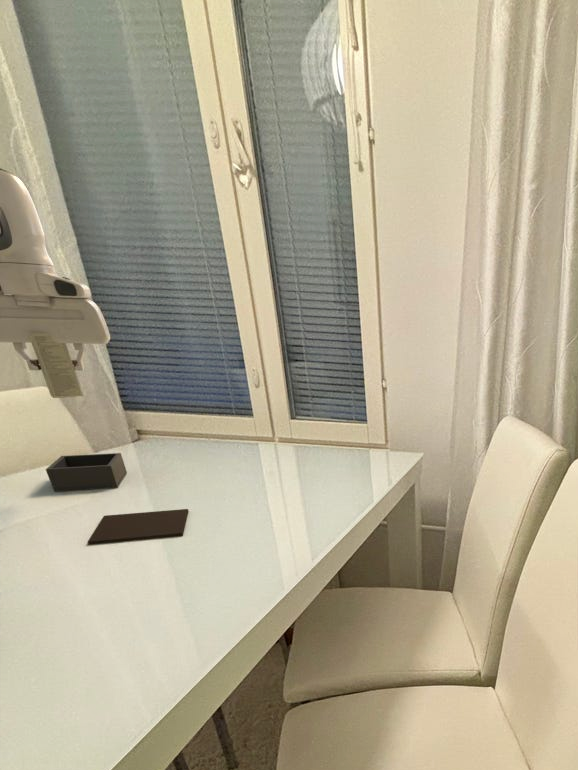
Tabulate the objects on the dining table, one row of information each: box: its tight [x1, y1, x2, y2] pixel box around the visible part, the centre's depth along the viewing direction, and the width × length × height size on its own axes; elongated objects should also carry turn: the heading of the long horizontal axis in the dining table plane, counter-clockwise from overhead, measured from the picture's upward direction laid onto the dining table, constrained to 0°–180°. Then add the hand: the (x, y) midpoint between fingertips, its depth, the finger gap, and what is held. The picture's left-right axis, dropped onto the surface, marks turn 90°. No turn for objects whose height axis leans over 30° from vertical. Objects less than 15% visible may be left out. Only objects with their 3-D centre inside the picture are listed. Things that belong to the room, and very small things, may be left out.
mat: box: [87, 508, 190, 546], centre depth 97 cm, size 14×14×1 cm
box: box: [29, 332, 84, 399], centre depth 104 cm, size 5×4×11 cm
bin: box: [45, 452, 128, 493], centre depth 119 cm, size 12×13×5 cm
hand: (58, 370), depth 105 cm, fingers closed on box, 6 cm apart
